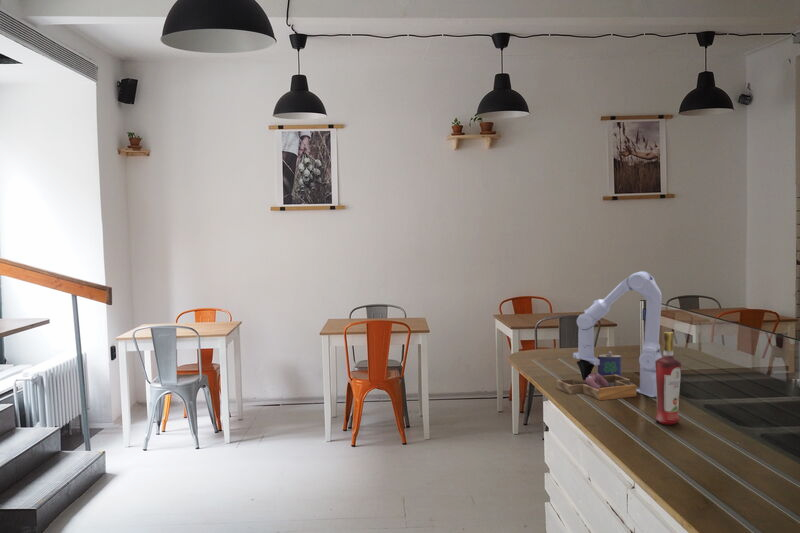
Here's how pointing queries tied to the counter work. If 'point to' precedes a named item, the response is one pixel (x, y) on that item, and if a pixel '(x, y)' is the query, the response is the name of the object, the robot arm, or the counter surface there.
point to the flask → (609, 364)
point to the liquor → (668, 383)
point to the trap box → (616, 390)
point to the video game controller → (596, 381)
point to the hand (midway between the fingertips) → (585, 379)
